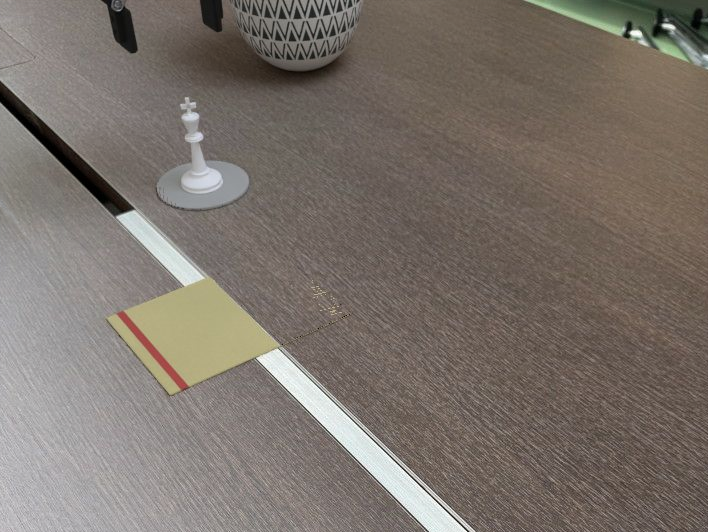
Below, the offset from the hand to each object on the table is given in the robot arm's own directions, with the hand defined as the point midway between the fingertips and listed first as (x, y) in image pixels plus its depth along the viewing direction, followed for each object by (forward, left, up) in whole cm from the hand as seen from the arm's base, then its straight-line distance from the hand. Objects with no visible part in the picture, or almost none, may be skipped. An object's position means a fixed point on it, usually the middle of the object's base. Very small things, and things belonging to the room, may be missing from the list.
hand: (171, 38), depth 87 cm
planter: (+28, +22, -17) cm, 40 cm away
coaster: (0, 0, -17) cm, 17 cm away
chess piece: (0, 0, -16) cm, 16 cm away
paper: (-10, -24, -17) cm, 31 cm away
